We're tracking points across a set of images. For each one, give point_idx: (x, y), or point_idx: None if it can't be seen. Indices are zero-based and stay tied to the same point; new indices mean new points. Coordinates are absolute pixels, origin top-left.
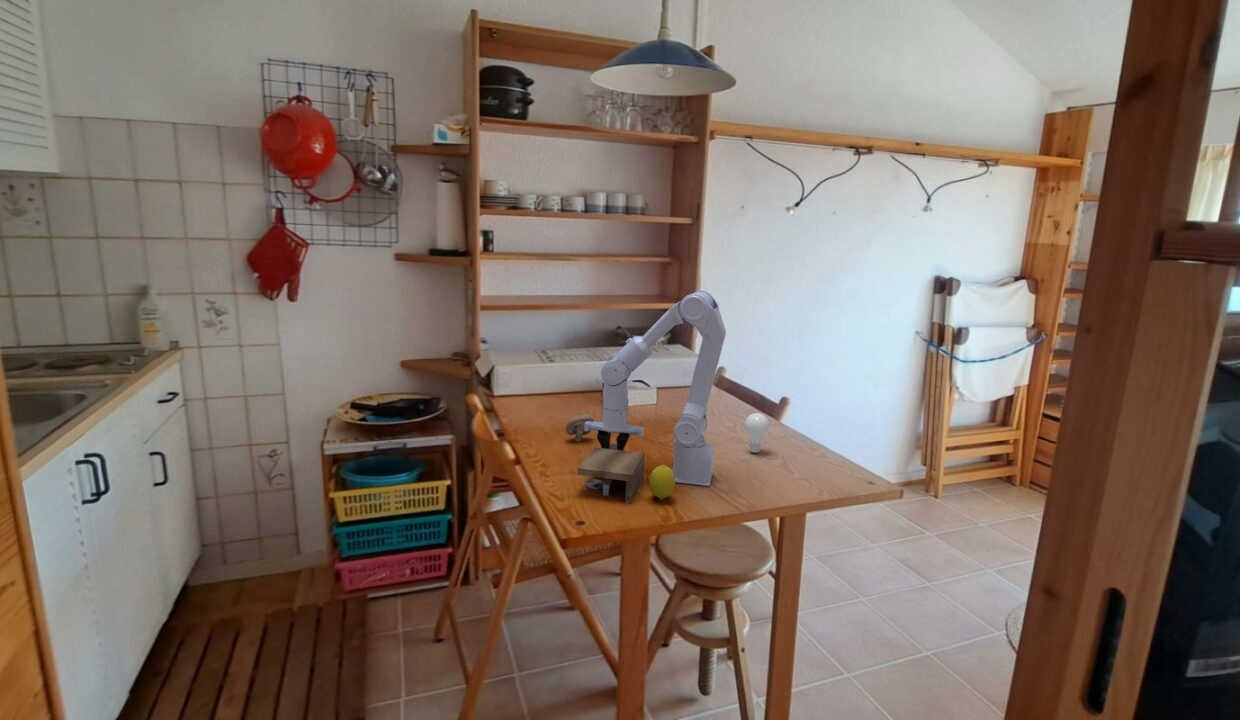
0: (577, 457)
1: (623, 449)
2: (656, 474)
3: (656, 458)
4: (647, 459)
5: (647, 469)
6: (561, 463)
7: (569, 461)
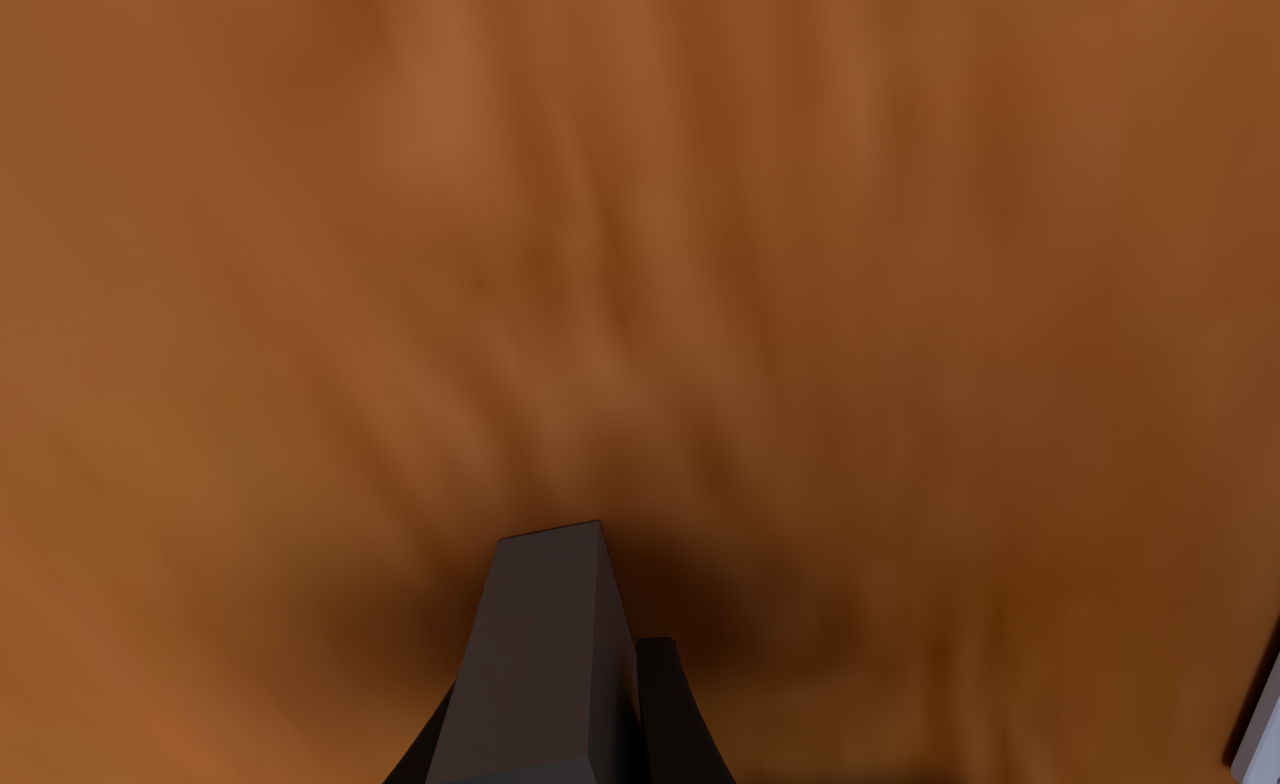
0: (32, 514)
1: (720, 771)
2: None
3: (1134, 125)
4: (985, 229)
5: (998, 565)
6: (16, 724)
7: (46, 653)
